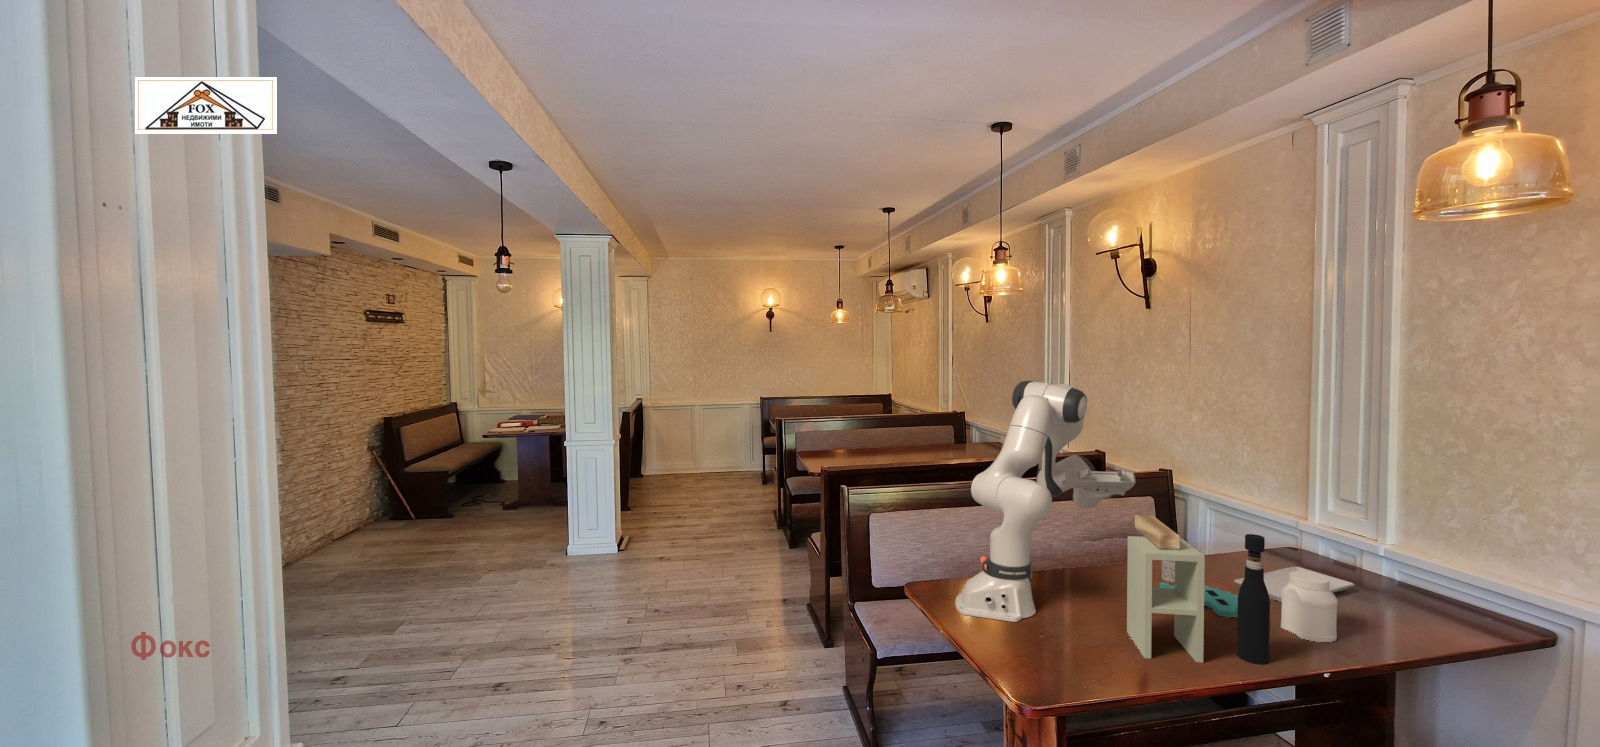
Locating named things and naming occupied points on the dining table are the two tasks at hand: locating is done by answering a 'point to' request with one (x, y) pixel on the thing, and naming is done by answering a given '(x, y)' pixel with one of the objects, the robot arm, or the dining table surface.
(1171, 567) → the grey speckled cup
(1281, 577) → the tray
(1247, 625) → the wine bottle
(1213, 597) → the alien figure
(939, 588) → the dining table surface
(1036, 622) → the dining table surface
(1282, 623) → the jar
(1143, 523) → the block
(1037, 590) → the dining table surface
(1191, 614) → the shelf stand
